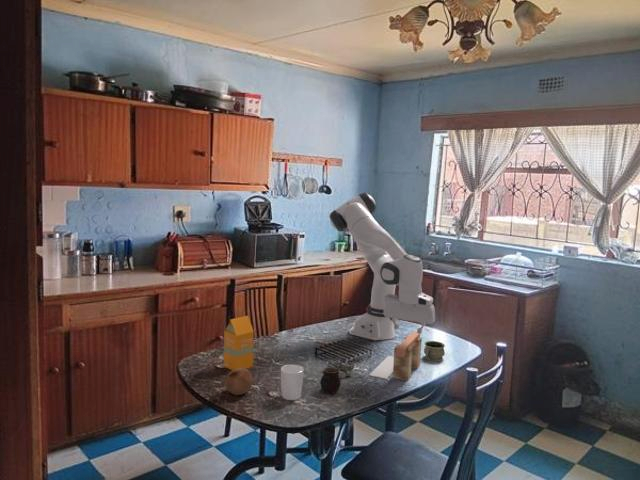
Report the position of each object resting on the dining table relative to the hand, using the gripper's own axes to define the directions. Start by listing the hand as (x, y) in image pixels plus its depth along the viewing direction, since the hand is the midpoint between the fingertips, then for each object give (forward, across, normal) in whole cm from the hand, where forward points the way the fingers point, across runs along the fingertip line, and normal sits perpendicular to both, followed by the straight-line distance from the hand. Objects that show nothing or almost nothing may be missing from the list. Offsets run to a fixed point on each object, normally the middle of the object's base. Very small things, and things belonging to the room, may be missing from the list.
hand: (407, 331), depth 202 cm
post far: (+17, 0, +7) cm, 18 cm away
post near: (+17, 0, -7) cm, 18 cm away
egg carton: (+17, -22, -15) cm, 32 cm away
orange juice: (+16, -59, -31) cm, 69 cm away
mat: (+17, -8, 0) cm, 18 cm away
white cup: (+17, -28, -43) cm, 54 cm away
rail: (+7, 0, 0) cm, 7 cm away
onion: (+17, -45, -50) cm, 69 cm away
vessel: (+17, +6, +22) cm, 28 cm away
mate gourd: (+17, -18, -32) cm, 40 cm away
